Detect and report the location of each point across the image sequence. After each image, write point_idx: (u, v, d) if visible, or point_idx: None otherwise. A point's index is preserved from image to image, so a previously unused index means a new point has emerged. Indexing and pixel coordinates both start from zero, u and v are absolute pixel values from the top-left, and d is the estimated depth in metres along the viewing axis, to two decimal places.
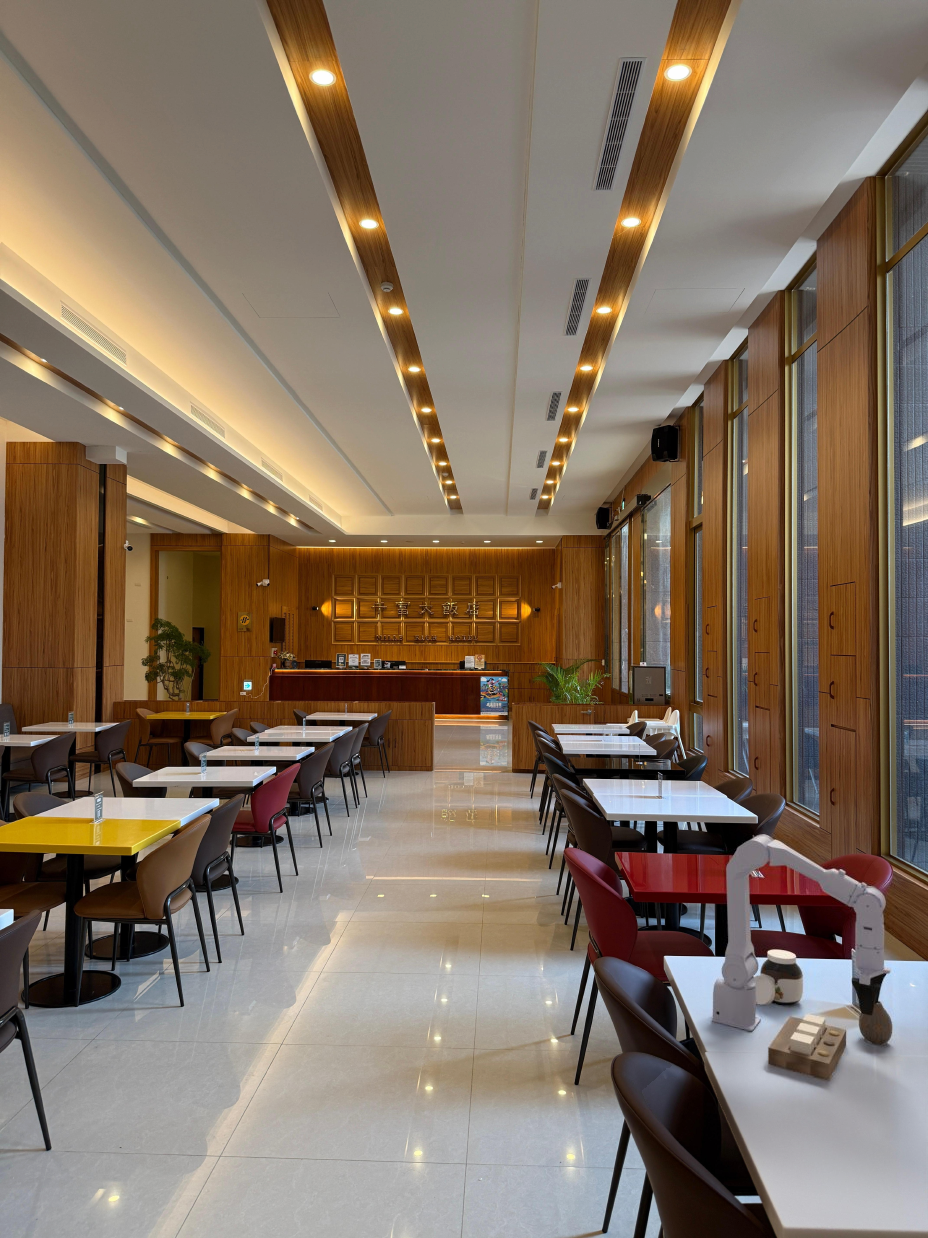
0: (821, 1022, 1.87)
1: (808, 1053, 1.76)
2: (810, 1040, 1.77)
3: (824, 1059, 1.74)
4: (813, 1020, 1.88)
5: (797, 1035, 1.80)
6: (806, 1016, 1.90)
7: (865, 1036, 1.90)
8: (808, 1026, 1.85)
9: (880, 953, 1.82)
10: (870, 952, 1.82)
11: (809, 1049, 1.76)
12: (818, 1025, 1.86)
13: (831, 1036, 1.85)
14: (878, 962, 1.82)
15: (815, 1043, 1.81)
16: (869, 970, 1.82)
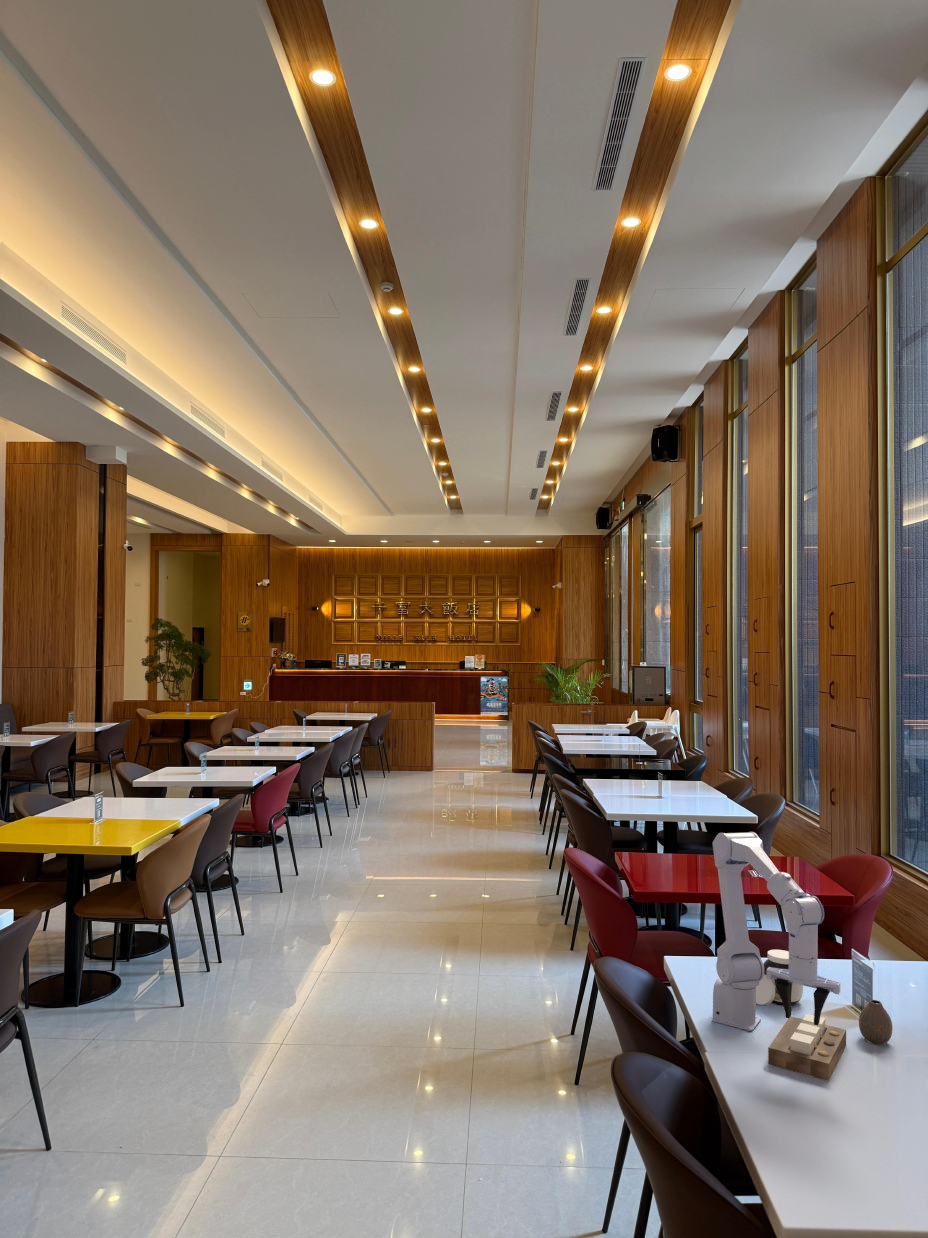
0: (821, 1022, 1.87)
1: (808, 1053, 1.76)
2: (810, 1040, 1.77)
3: (824, 1059, 1.74)
4: (813, 1020, 1.88)
5: (797, 1035, 1.80)
6: (806, 1016, 1.90)
7: (865, 1036, 1.90)
8: (808, 1026, 1.85)
9: (792, 960, 1.78)
10: None
11: (809, 1049, 1.76)
12: (818, 1025, 1.86)
13: (831, 1036, 1.85)
14: (790, 968, 1.79)
15: (815, 1043, 1.81)
16: (787, 973, 1.80)
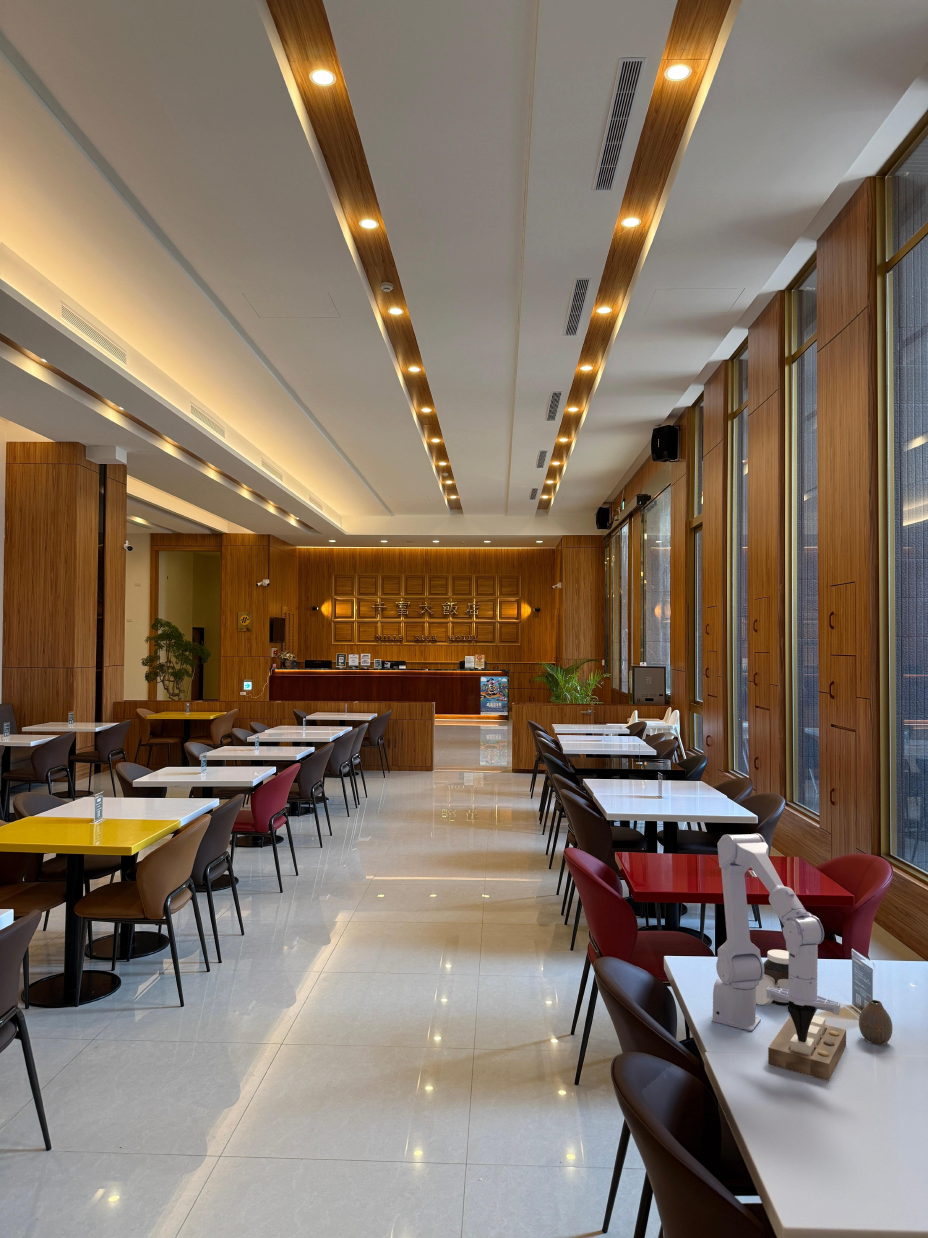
0: (821, 1022, 1.87)
1: None
2: (810, 1042, 1.77)
3: (824, 1059, 1.74)
4: (813, 1020, 1.88)
5: (797, 1037, 1.80)
6: None
7: (865, 1036, 1.90)
8: None
9: (792, 980, 1.78)
10: None
11: (809, 1051, 1.76)
12: (818, 1025, 1.86)
13: (831, 1036, 1.85)
14: (790, 988, 1.78)
15: (815, 1043, 1.81)
16: None
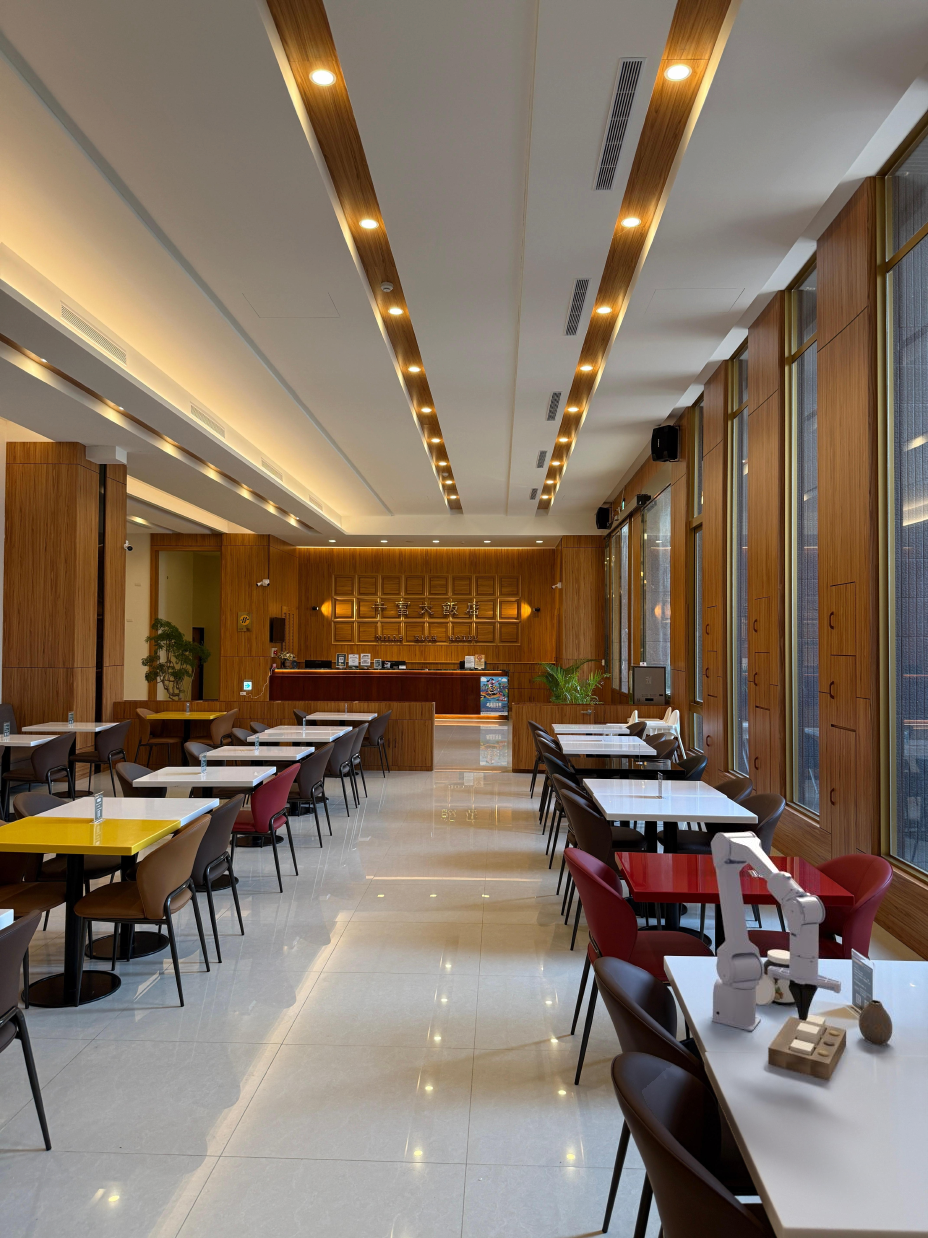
0: (821, 1022, 1.87)
1: None
2: (810, 1047, 1.77)
3: (824, 1059, 1.74)
4: (813, 1020, 1.88)
5: (797, 1042, 1.80)
6: None
7: (865, 1036, 1.90)
8: (808, 1026, 1.85)
9: (793, 959, 1.79)
10: None
11: None
12: (818, 1025, 1.86)
13: (831, 1036, 1.85)
14: (791, 967, 1.80)
15: (815, 1043, 1.81)
16: (788, 972, 1.81)
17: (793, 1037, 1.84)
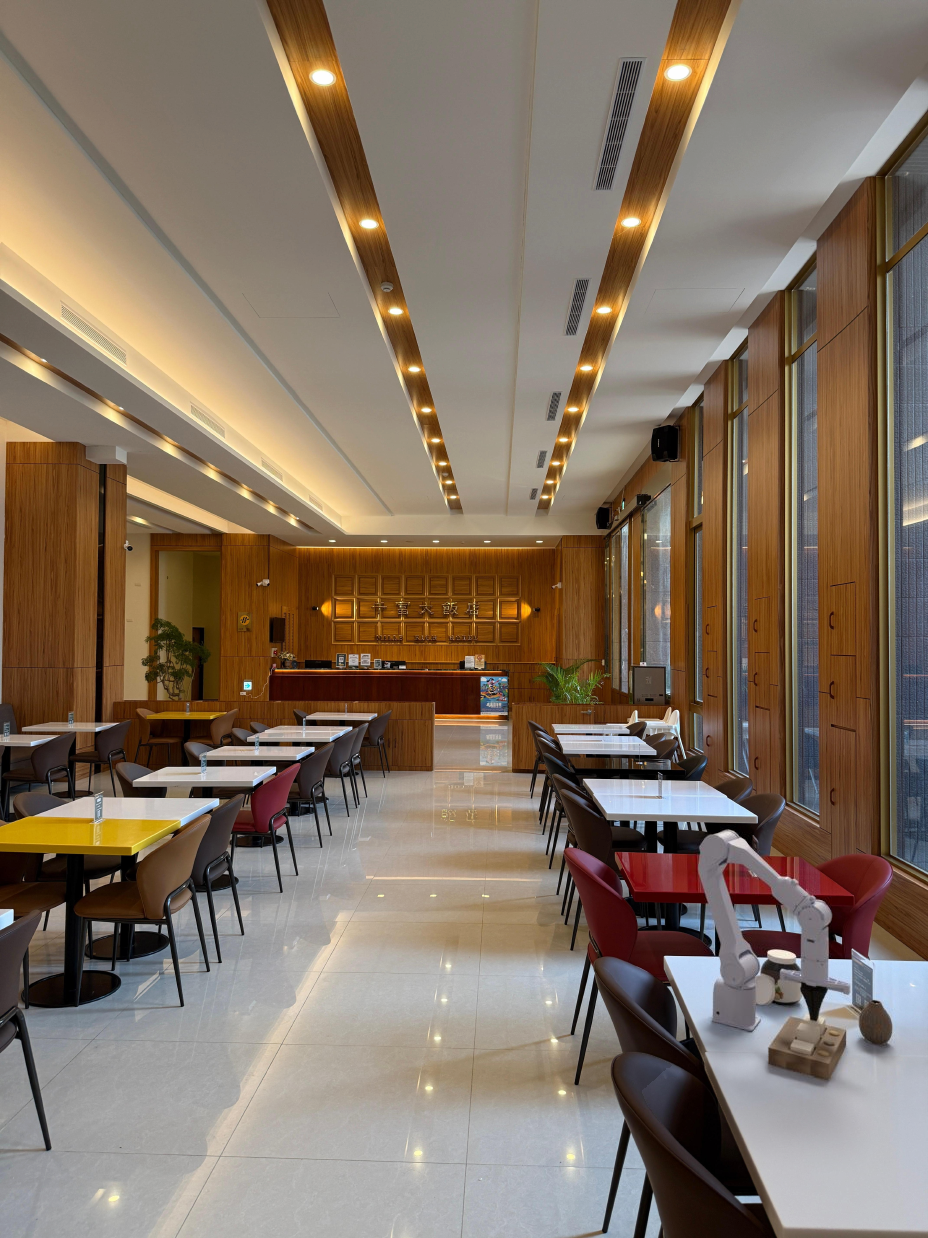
0: (821, 1022, 1.87)
1: None
2: (810, 1047, 1.77)
3: (824, 1059, 1.74)
4: None
5: (797, 1042, 1.80)
6: (806, 1016, 1.90)
7: (865, 1036, 1.90)
8: (808, 1026, 1.85)
9: (804, 962, 1.88)
10: (801, 958, 1.90)
11: None
12: (818, 1025, 1.86)
13: (831, 1036, 1.85)
14: (803, 970, 1.88)
15: (815, 1043, 1.81)
16: (800, 975, 1.90)
17: (793, 1037, 1.84)
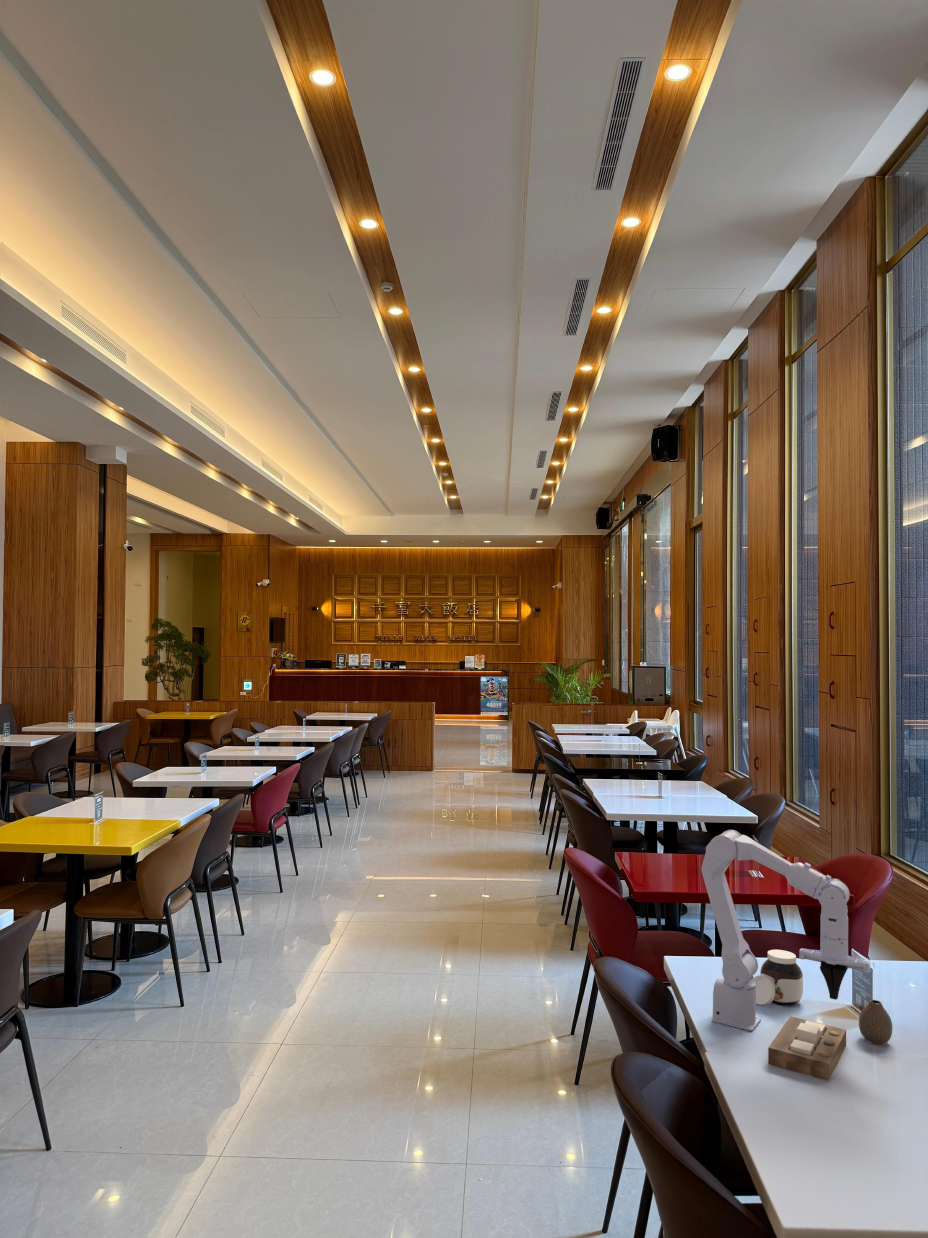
0: (821, 1029, 1.87)
1: None
2: (810, 1047, 1.77)
3: (824, 1059, 1.74)
4: None
5: (797, 1042, 1.80)
6: (806, 1023, 1.90)
7: (865, 1036, 1.90)
8: (808, 1026, 1.85)
9: (824, 941, 1.89)
10: (820, 937, 1.91)
11: None
12: None
13: (831, 1036, 1.85)
14: (822, 948, 1.89)
15: (815, 1043, 1.81)
16: (819, 954, 1.91)
17: (793, 1037, 1.84)
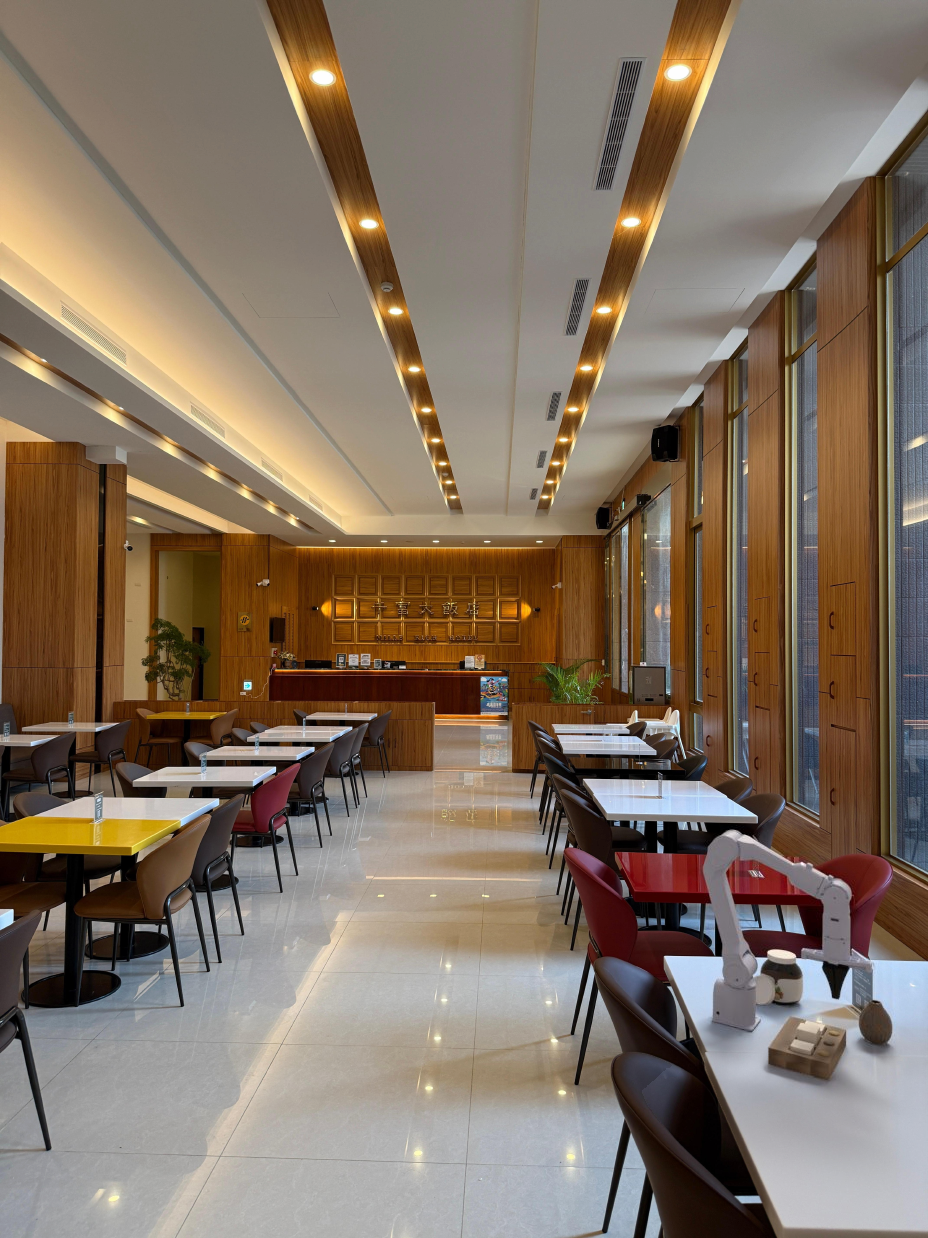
0: (821, 1029, 1.87)
1: None
2: (810, 1047, 1.77)
3: (824, 1059, 1.74)
4: None
5: (797, 1042, 1.80)
6: (806, 1023, 1.90)
7: (865, 1036, 1.90)
8: (808, 1026, 1.85)
9: (826, 941, 1.89)
10: None
11: None
12: None
13: (831, 1036, 1.85)
14: (825, 948, 1.89)
15: (815, 1043, 1.81)
16: (821, 954, 1.91)
17: (793, 1037, 1.84)
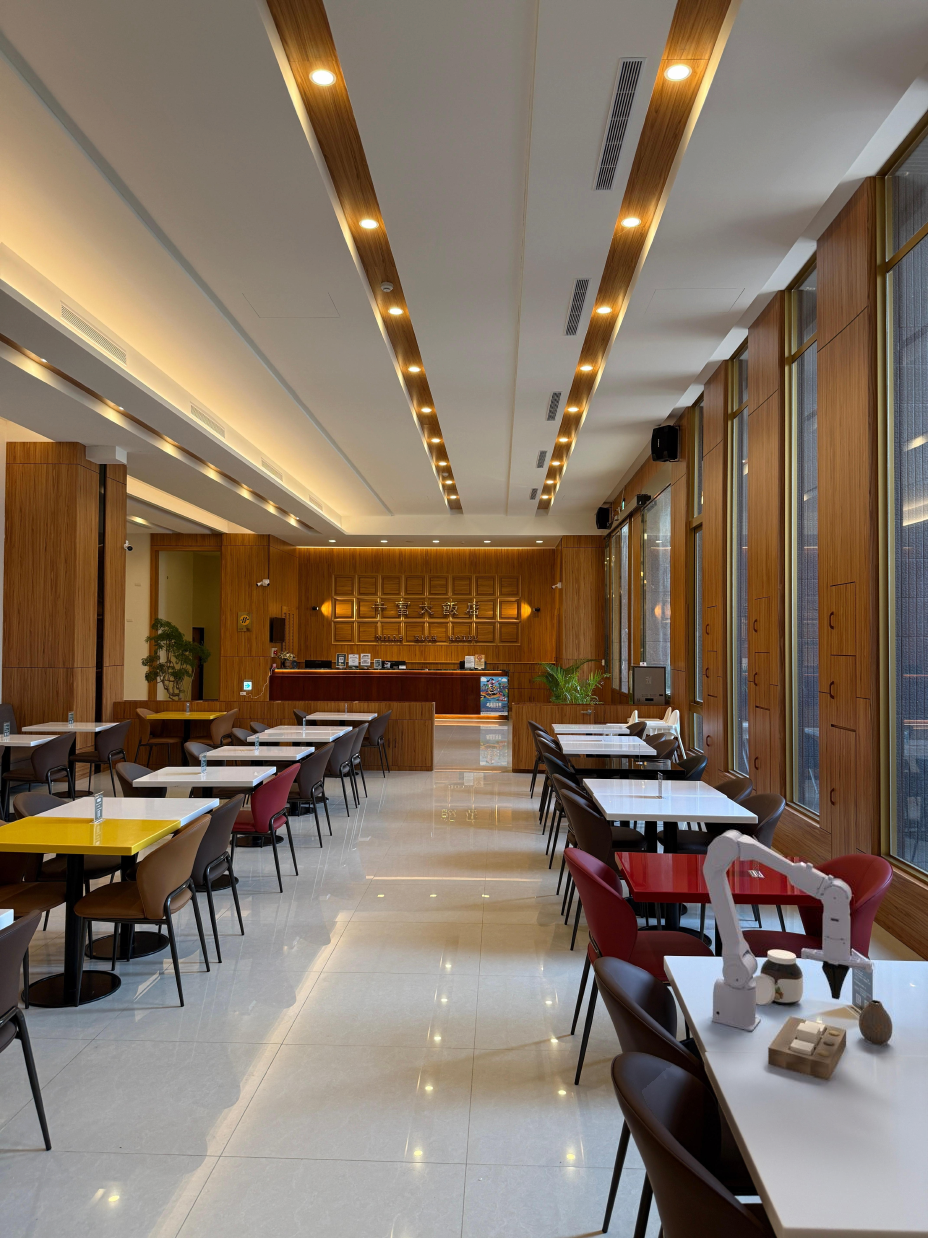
0: (821, 1029, 1.87)
1: None
2: (810, 1047, 1.77)
3: (824, 1059, 1.74)
4: None
5: (797, 1042, 1.80)
6: (806, 1023, 1.90)
7: (865, 1036, 1.90)
8: (808, 1026, 1.85)
9: (826, 941, 1.89)
10: None
11: None
12: None
13: (831, 1036, 1.85)
14: (825, 948, 1.89)
15: (815, 1043, 1.81)
16: (821, 954, 1.91)
17: (793, 1037, 1.84)
